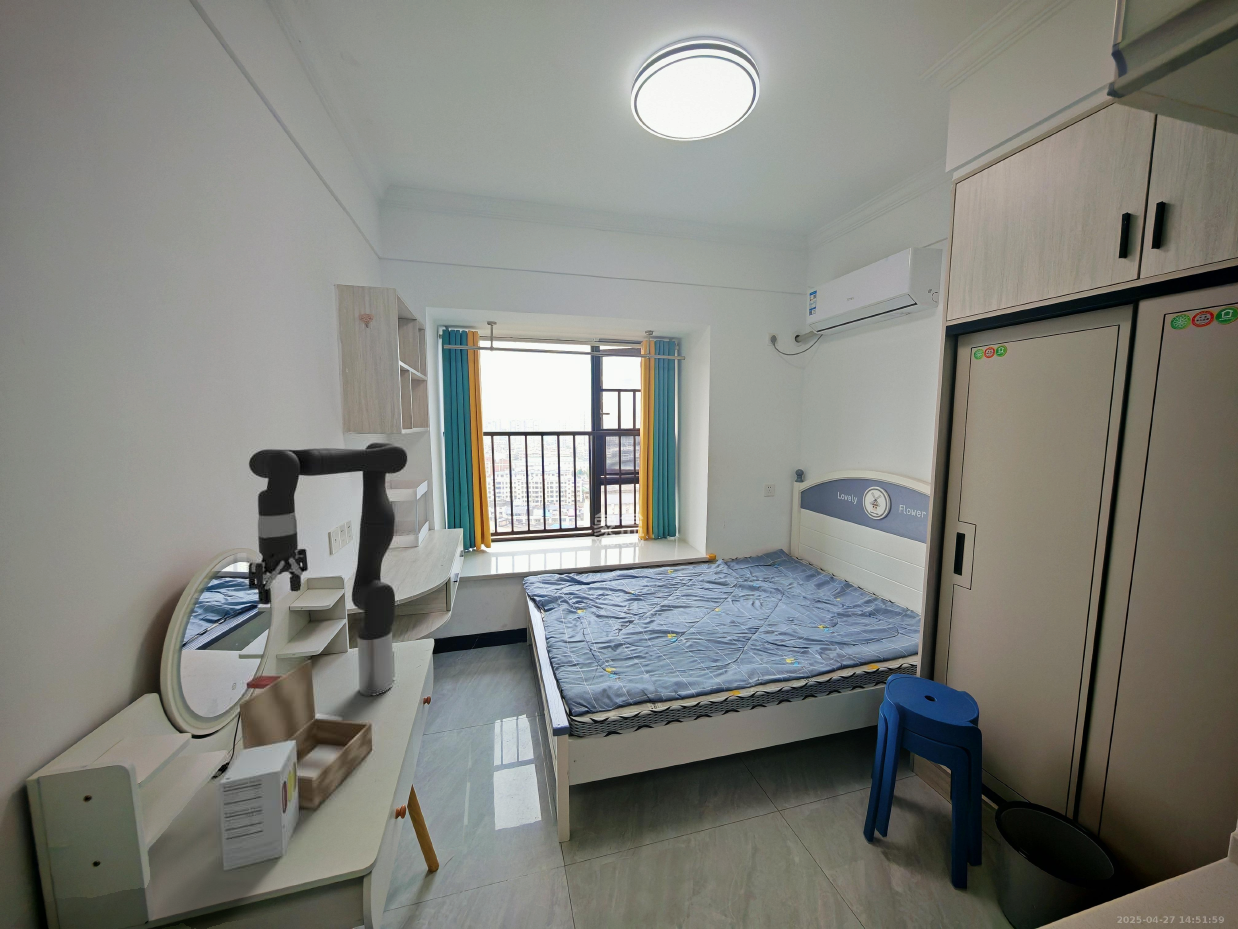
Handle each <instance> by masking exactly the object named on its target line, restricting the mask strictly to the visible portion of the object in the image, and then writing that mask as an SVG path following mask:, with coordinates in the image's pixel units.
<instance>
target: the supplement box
mask: <svg viewBox="0 0 1238 929" xmlns="http://www.w3.org/2000/svg"><path fill="white" fill-rule="evenodd" d="M218 788H219V789H218V790H219V792H218V793H219V805H220V806H219V808H220V826H221V844H222V845H221V846H222V859H223V863H222V864H223V871H224V870H226V871H228V870H229V871H230V870H234V869H237V868H241V867H244V866H248V865H253V864H257V863H260V862H264V861H269V860H272V859H277V858H280V857H283V856H284V855H285V854H284V853H285V852H286V849H287V846H288V845H289V843H290V840H291V839H292V838H291V837H292V835H293V833H294V830H295V829H296V826H297V824H298V822H299V819H300V811H299V810H300V809H299V803H298V779H297V754H296V740H293V741H287V742H281V743H277V744H271V745H266V746H260V747H255V748H250V749H245V750H244V749H242V750H241V751H240V752H239V754H238V755H237V757H236V759H235V761H234V762H233V763H232V765H231V766H230V768H229V769H228V770H227V772H226V774H225V775H224V776H223V777H222V778H221V780H220V782H219V783H218Z"/></svg>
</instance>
